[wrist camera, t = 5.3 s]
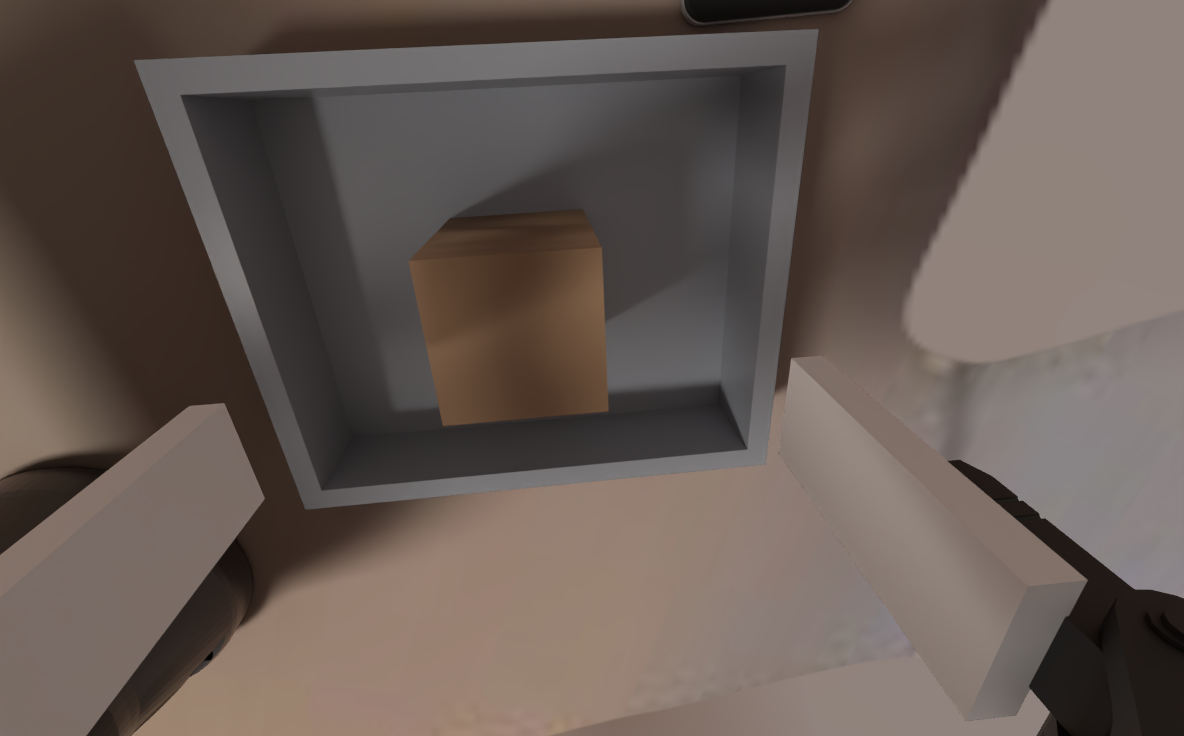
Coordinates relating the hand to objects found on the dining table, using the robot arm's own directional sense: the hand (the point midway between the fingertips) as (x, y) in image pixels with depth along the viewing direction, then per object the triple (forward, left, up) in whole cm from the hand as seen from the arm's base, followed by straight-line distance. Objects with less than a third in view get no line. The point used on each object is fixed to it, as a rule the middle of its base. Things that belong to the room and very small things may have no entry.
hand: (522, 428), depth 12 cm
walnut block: (0, 0, -14) cm, 14 cm away
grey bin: (0, 0, -14) cm, 14 cm away
